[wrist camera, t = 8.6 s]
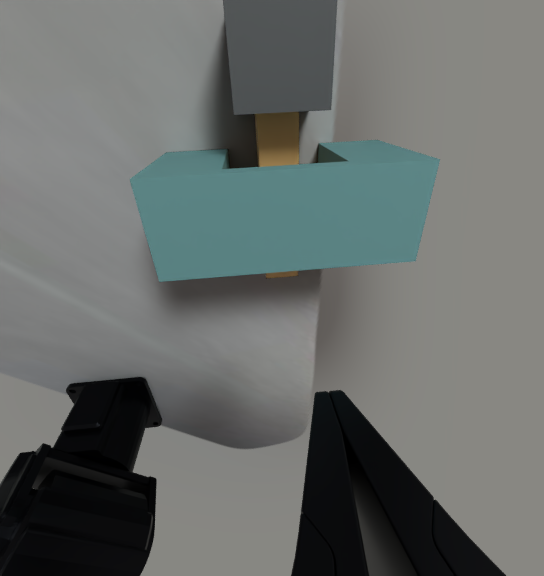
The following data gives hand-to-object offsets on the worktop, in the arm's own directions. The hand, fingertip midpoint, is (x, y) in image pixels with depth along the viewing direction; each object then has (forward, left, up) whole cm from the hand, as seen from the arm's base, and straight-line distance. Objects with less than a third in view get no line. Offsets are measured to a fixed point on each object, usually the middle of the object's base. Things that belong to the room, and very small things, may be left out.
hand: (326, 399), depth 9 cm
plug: (+5, 0, -13) cm, 14 cm away
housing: (+3, 0, -13) cm, 13 cm away
